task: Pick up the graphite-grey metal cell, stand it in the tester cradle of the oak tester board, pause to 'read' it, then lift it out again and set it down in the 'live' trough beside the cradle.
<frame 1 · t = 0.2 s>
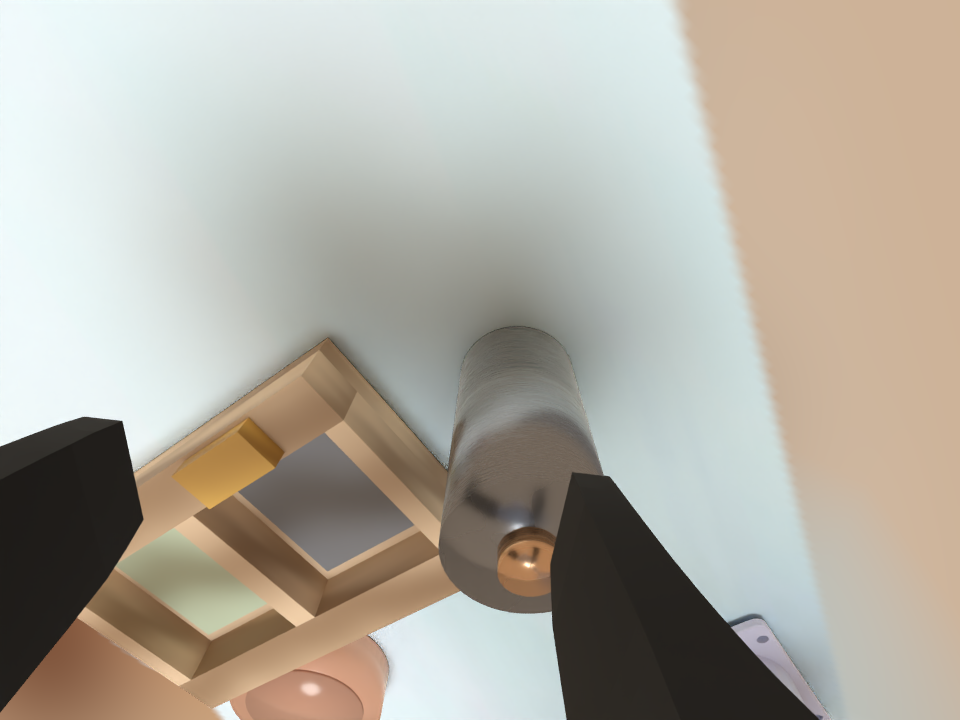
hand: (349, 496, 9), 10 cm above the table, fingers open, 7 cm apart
tester board: (276, 520, 22), on the table
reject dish: (318, 664, 26), on the table
cell: (516, 378, 19), on the table
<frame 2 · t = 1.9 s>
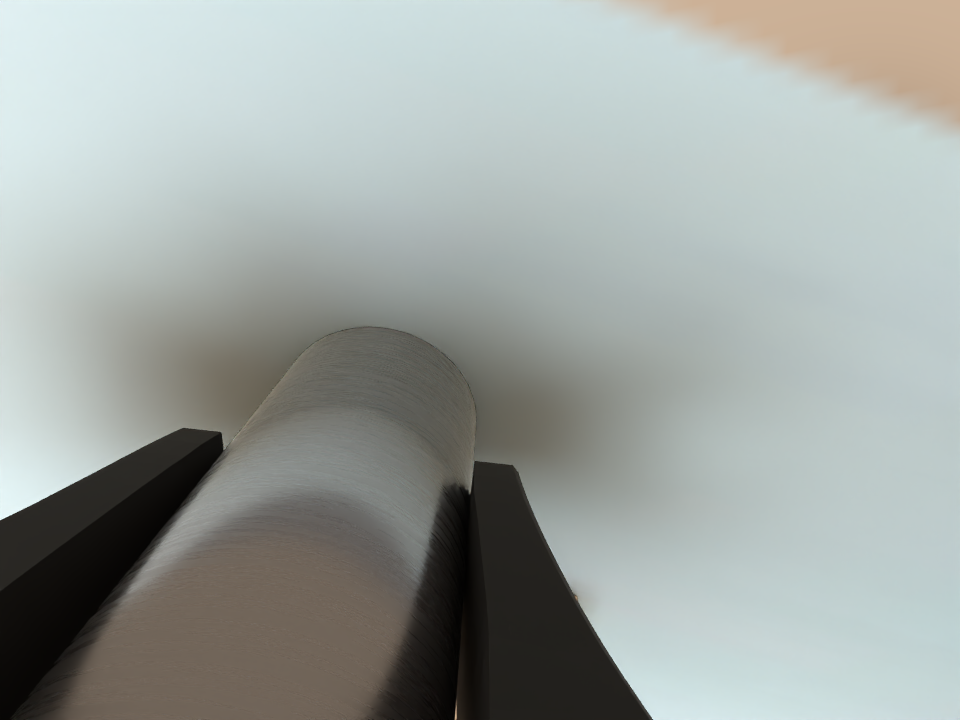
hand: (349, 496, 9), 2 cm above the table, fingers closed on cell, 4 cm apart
cell: (379, 417, 11), on the table, touching gripper
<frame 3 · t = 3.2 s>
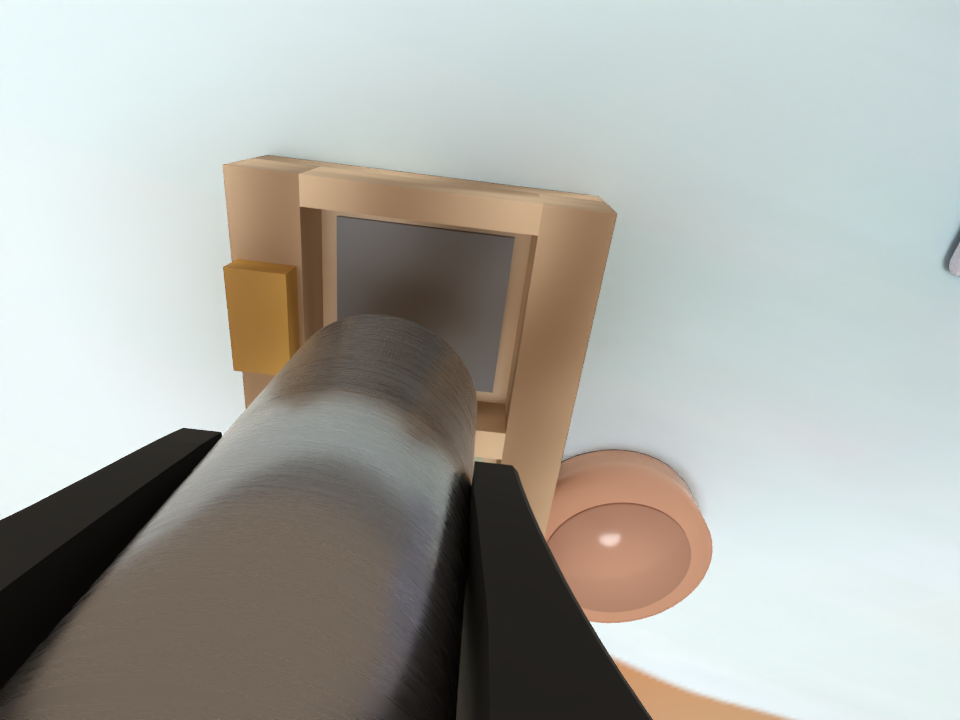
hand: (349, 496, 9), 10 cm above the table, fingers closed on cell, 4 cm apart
tester board: (418, 392, 19), on the table
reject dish: (605, 520, 21), on the table
cell: (381, 404, 11), point 7 cm above the table, touching gripper
when the fingers open (5 cm above the table, at t = 4.5 s): cell stays where it is, resting on tester board.
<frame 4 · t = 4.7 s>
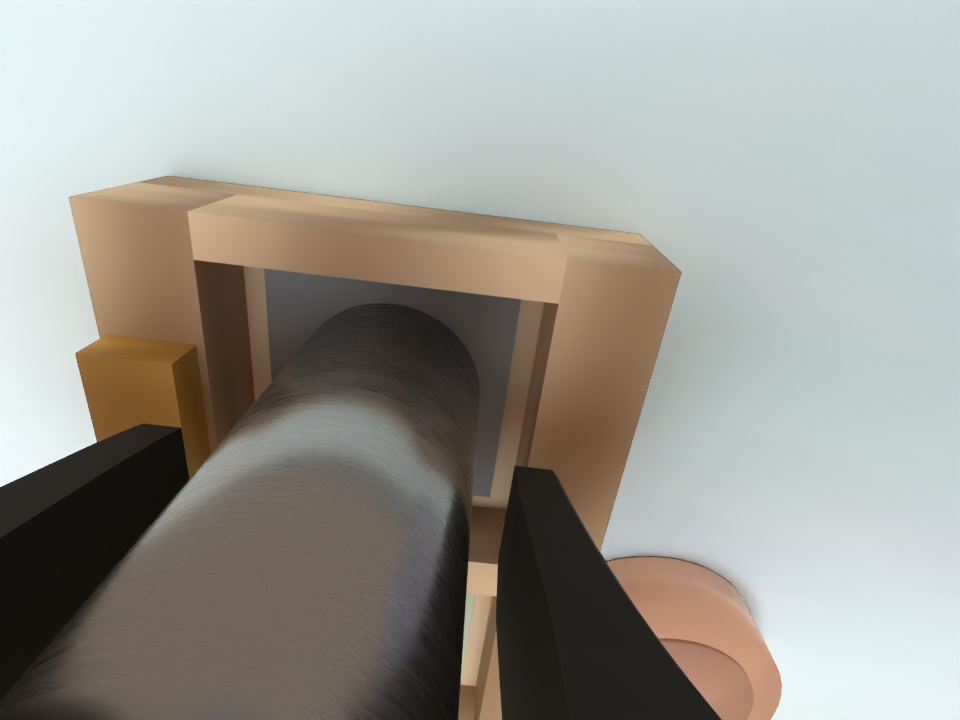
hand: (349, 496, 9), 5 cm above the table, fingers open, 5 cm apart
tester board: (391, 485, 14), on the table
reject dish: (636, 637, 17), on the table
cell: (389, 389, 12), point 1 cm above the table, touching tester board
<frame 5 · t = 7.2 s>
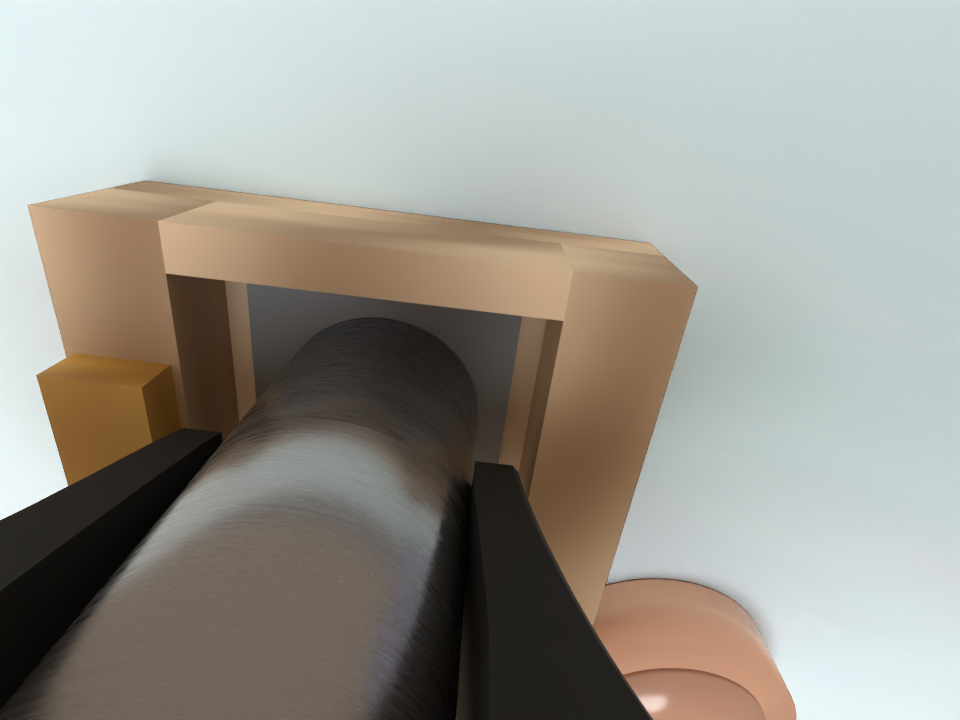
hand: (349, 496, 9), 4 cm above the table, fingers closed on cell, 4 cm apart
tester board: (385, 505, 14), on the table
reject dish: (642, 661, 16), on the table
cell: (381, 407, 11), point 1 cm above the table, touching gripper, tester board
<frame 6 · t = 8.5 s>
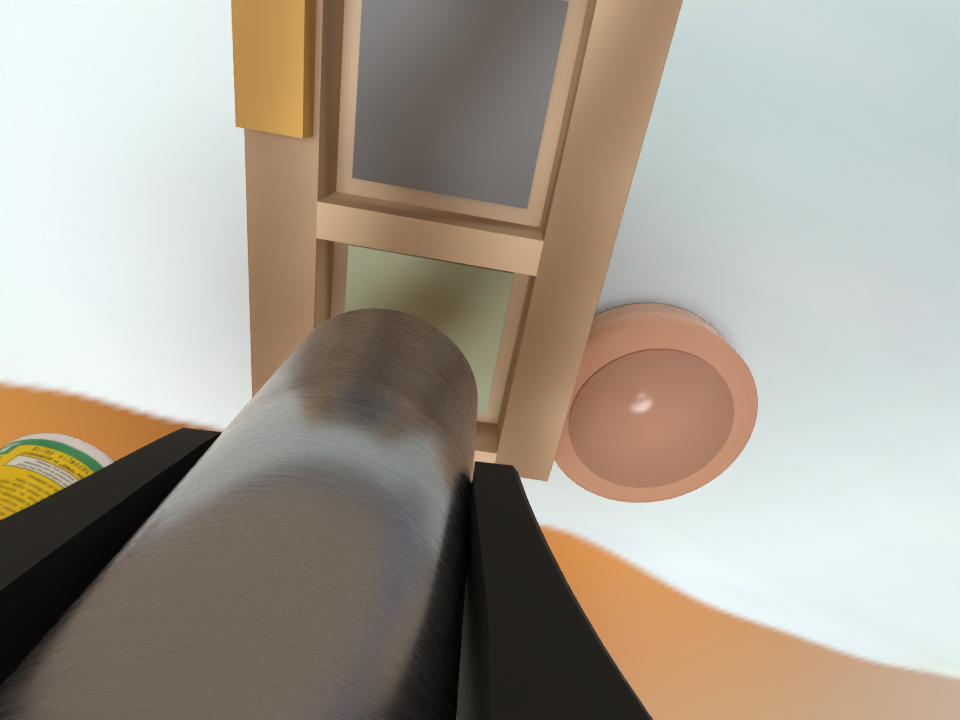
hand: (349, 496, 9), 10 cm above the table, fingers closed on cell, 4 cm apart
tester board: (439, 219, 17), on the table
supplement bottle 2: (76, 477, 22), on the table
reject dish: (635, 392, 19), on the table
cell: (383, 398, 11), point 8 cm above the table, touching gripper
when the fingers open (5 cm above the table, at t = 10.1 s): cell stays where it is, resting on tester board.
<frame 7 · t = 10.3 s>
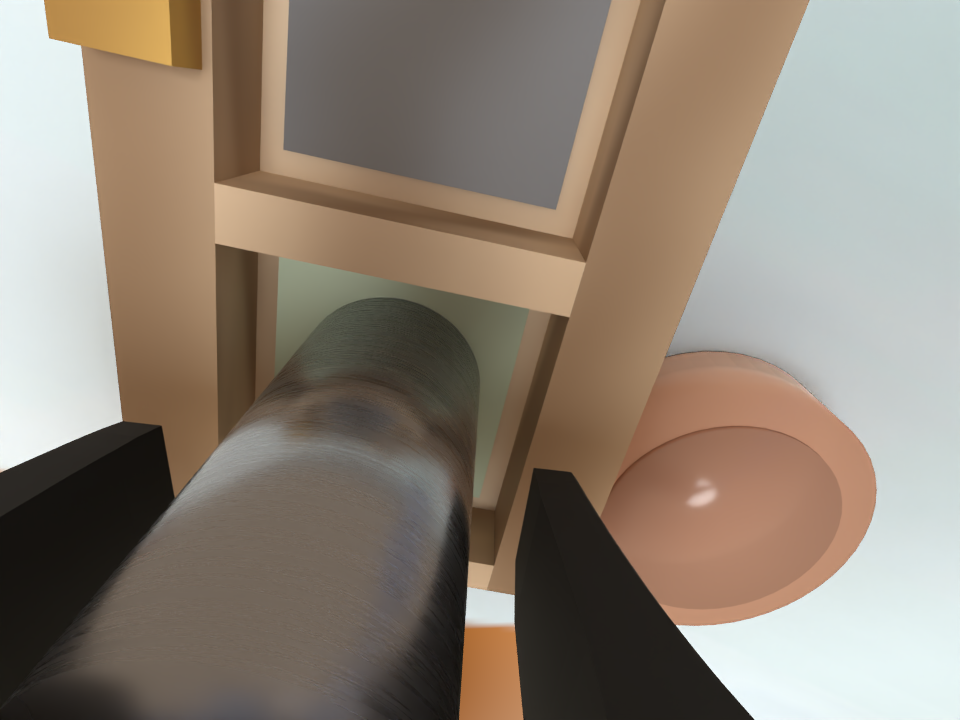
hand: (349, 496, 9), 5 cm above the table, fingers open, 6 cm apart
tester board: (421, 220, 11), on the table
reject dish: (687, 470, 14), on the table
cell: (391, 381, 12), point 1 cm above the table, touching tester board
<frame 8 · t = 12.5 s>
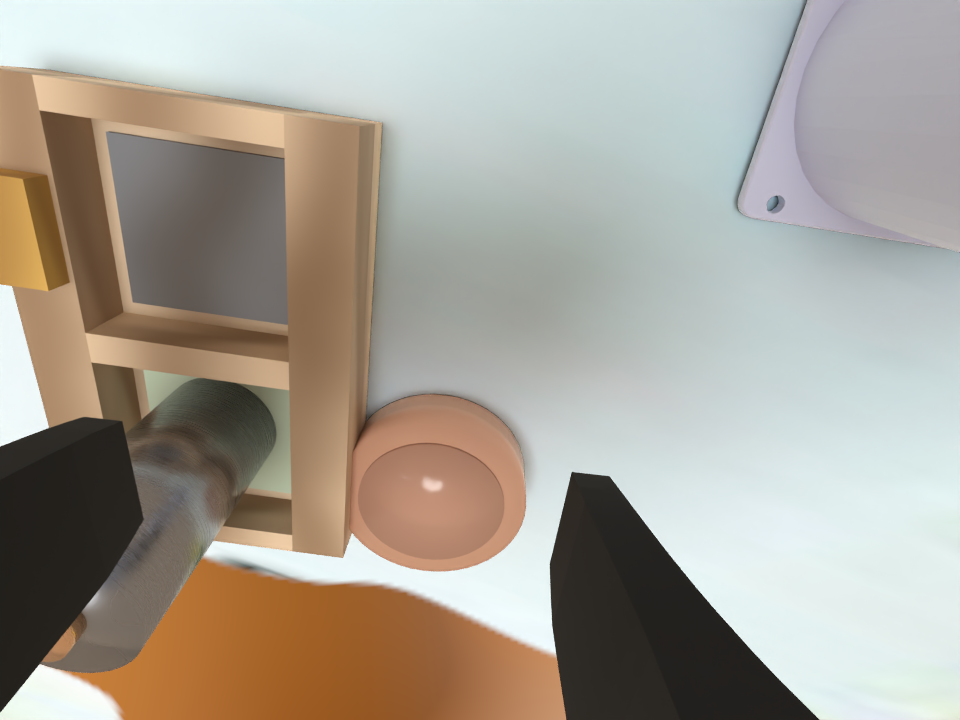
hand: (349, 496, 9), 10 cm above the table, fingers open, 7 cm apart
tester board: (231, 327, 19), on the table
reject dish: (437, 469, 21), on the table
cell: (221, 425, 19), point 1 cm above the table, touching tester board
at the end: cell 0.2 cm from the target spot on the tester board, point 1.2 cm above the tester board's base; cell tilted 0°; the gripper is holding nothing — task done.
